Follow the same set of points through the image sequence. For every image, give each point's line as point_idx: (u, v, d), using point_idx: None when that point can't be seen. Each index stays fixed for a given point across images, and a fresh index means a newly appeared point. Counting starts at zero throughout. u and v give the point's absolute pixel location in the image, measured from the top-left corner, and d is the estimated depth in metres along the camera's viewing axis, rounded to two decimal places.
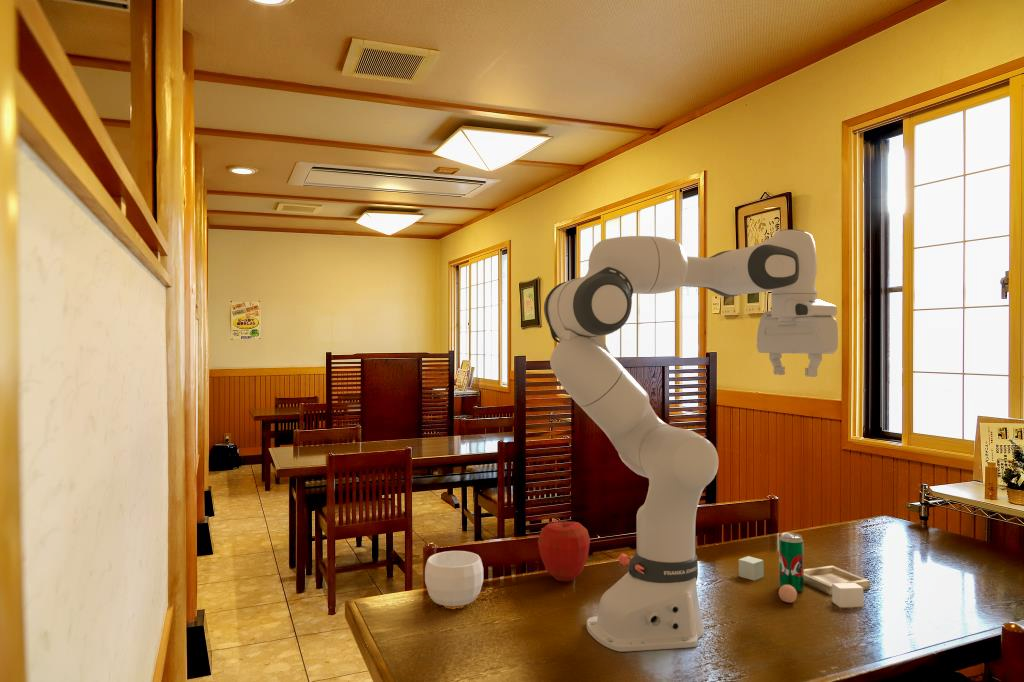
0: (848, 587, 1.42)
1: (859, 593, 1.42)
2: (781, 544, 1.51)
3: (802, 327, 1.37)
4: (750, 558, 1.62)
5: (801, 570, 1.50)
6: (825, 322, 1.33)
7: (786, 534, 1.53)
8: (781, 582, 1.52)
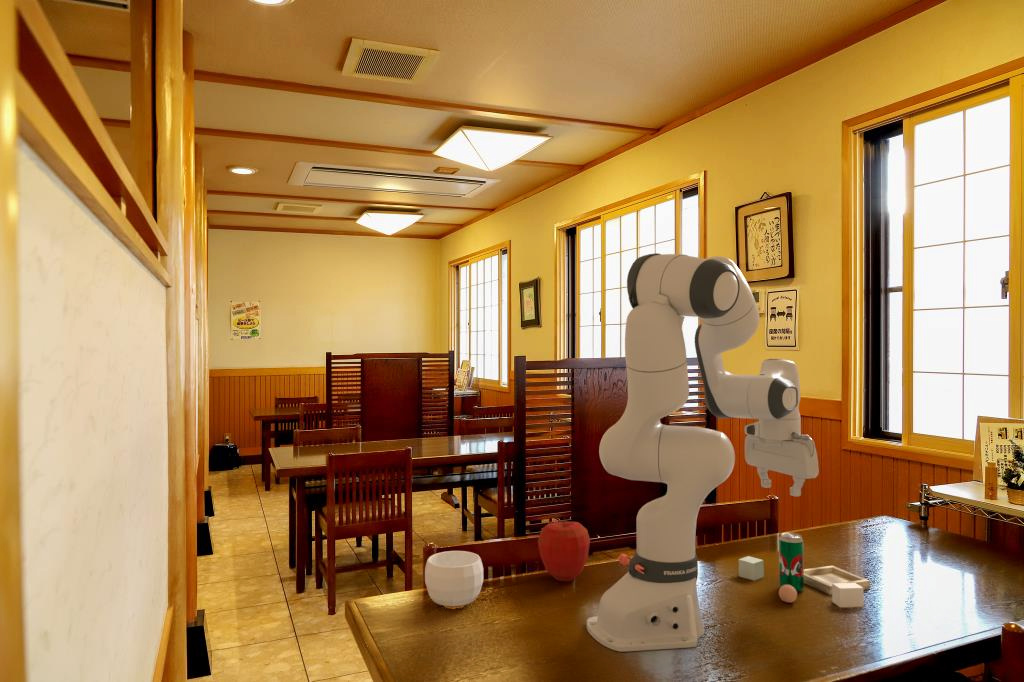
0: (848, 587, 1.42)
1: (859, 593, 1.42)
2: (781, 544, 1.51)
3: None
4: (750, 558, 1.62)
5: (801, 570, 1.50)
6: None
7: (786, 534, 1.53)
8: (781, 582, 1.52)
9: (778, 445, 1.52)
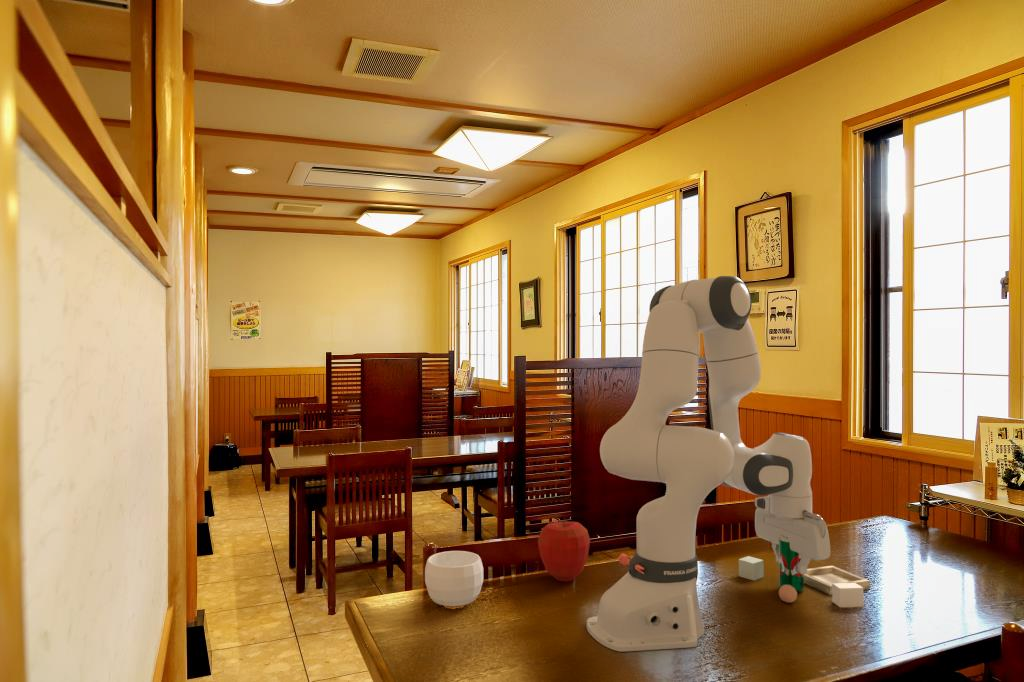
0: (848, 587, 1.42)
1: (859, 593, 1.42)
2: (781, 544, 1.51)
3: None
4: (750, 558, 1.62)
5: None
6: None
7: None
8: (781, 582, 1.52)
9: (789, 522, 1.49)
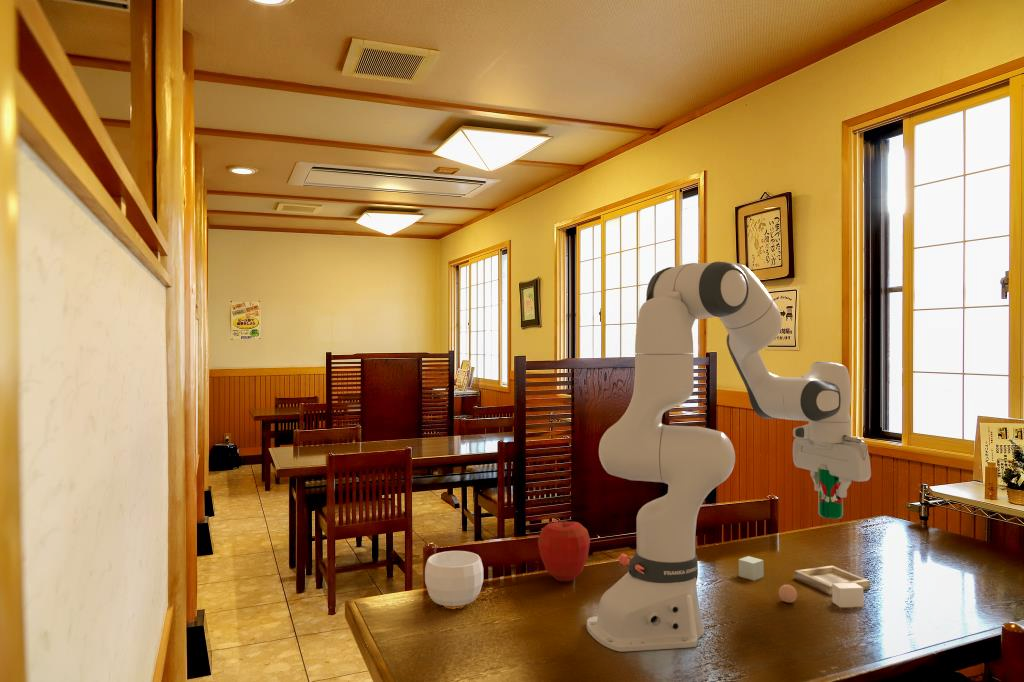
0: (848, 587, 1.42)
1: (859, 593, 1.42)
2: (821, 472, 1.55)
3: None
4: (750, 558, 1.62)
5: None
6: None
7: None
8: (821, 510, 1.55)
9: (829, 448, 1.53)
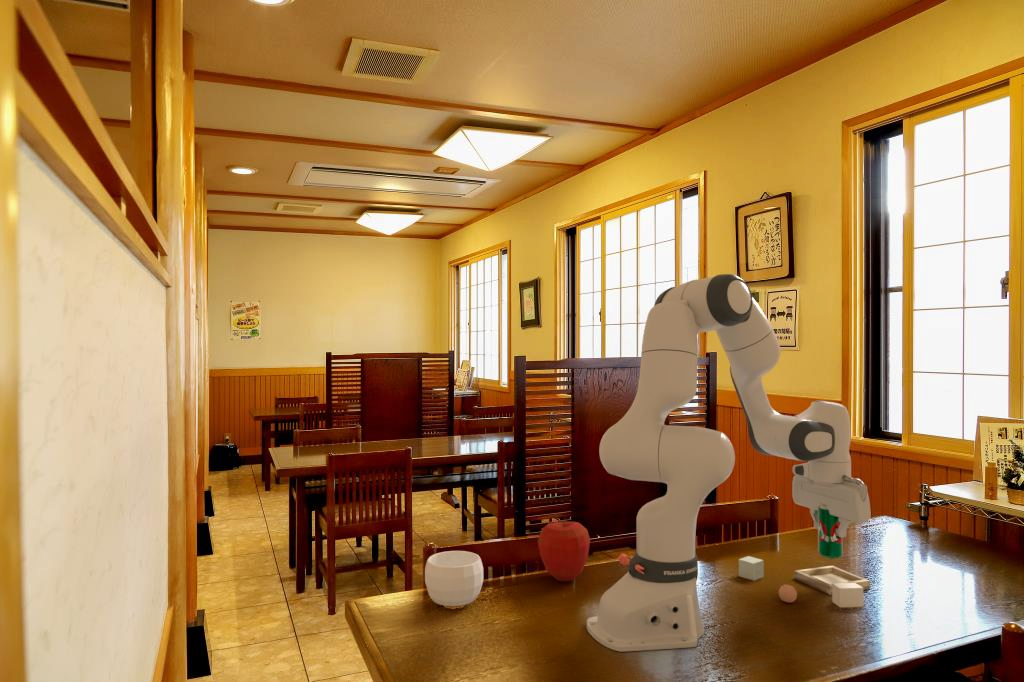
0: (848, 587, 1.42)
1: (859, 593, 1.42)
2: (821, 512, 1.55)
3: None
4: (750, 558, 1.62)
5: (840, 537, 1.54)
6: None
7: None
8: (820, 549, 1.55)
9: (828, 487, 1.53)
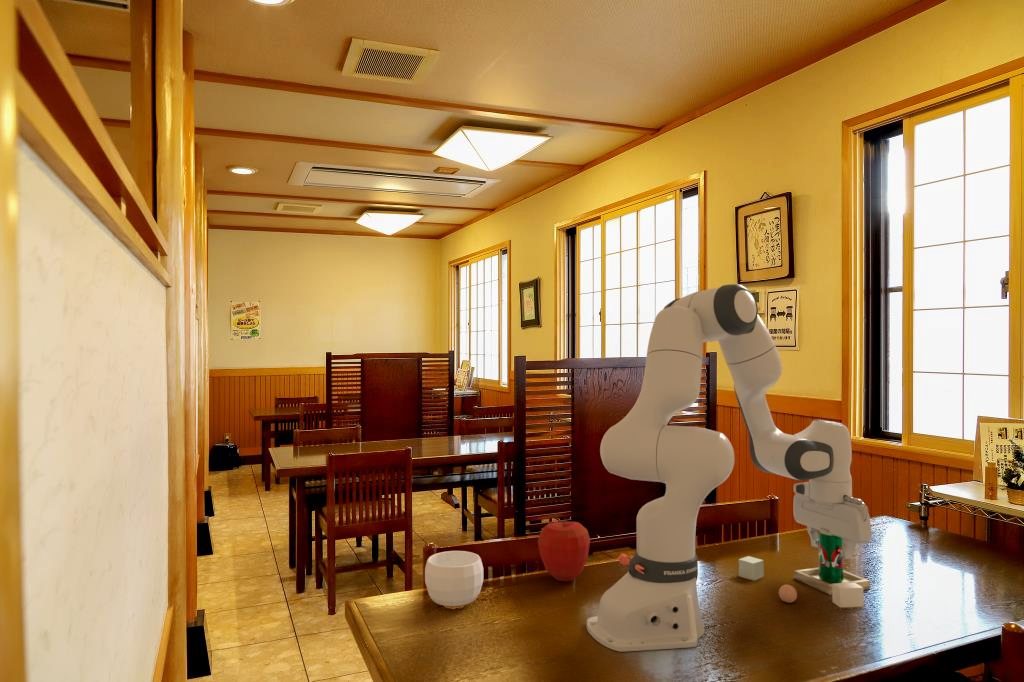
0: (848, 587, 1.42)
1: (859, 593, 1.42)
2: (821, 537, 1.55)
3: None
4: (750, 558, 1.62)
5: (841, 562, 1.53)
6: None
7: None
8: (821, 574, 1.55)
9: (829, 507, 1.53)
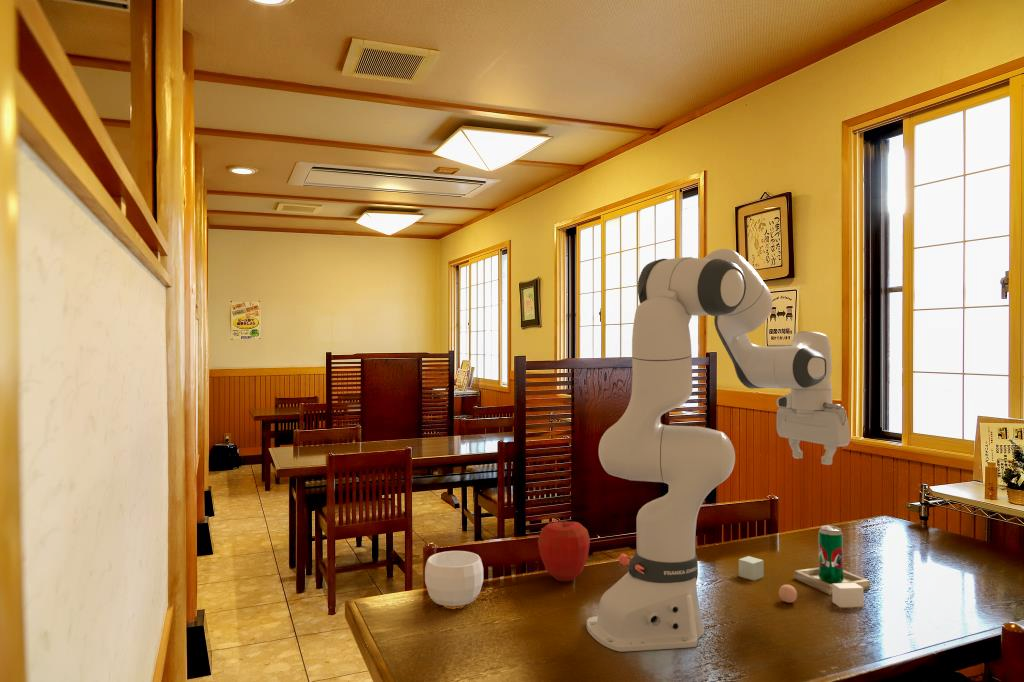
0: (848, 587, 1.42)
1: (859, 593, 1.42)
2: (821, 537, 1.55)
3: None
4: (750, 558, 1.62)
5: (841, 562, 1.53)
6: None
7: (825, 527, 1.56)
8: (821, 574, 1.55)
9: (810, 415, 1.56)
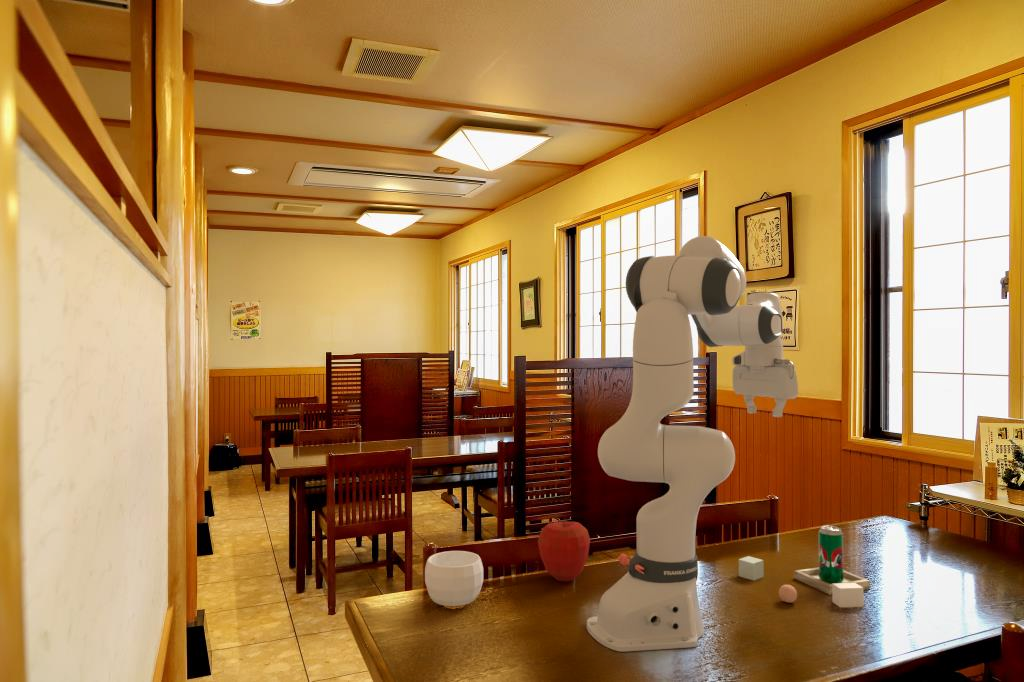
0: (848, 587, 1.42)
1: (859, 593, 1.42)
2: (821, 537, 1.55)
3: None
4: (750, 558, 1.62)
5: (841, 562, 1.53)
6: None
7: (826, 527, 1.56)
8: (821, 574, 1.55)
9: (762, 371, 1.65)
